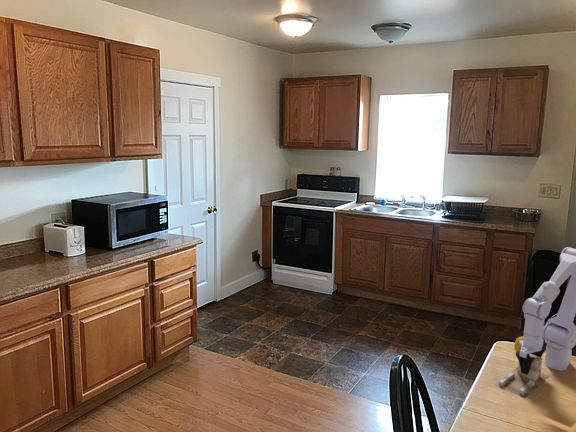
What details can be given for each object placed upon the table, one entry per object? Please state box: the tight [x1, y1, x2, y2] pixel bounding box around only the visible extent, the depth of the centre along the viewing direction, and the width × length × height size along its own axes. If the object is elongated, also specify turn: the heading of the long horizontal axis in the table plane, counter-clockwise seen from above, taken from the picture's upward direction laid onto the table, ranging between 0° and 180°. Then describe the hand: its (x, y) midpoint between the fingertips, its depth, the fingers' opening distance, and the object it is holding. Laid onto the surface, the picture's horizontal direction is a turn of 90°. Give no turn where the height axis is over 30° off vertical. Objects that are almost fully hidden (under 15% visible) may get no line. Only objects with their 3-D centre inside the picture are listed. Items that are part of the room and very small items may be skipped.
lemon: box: [514, 335, 524, 353], centre depth 180 cm, size 6×6×8 cm
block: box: [517, 353, 543, 381], centre depth 164 cm, size 4×6×7 cm, turn 41°
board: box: [494, 366, 550, 399], centre depth 161 cm, size 20×10×3 cm, turn 131°
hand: (529, 369), depth 164 cm, fingers open, 7 cm apart
